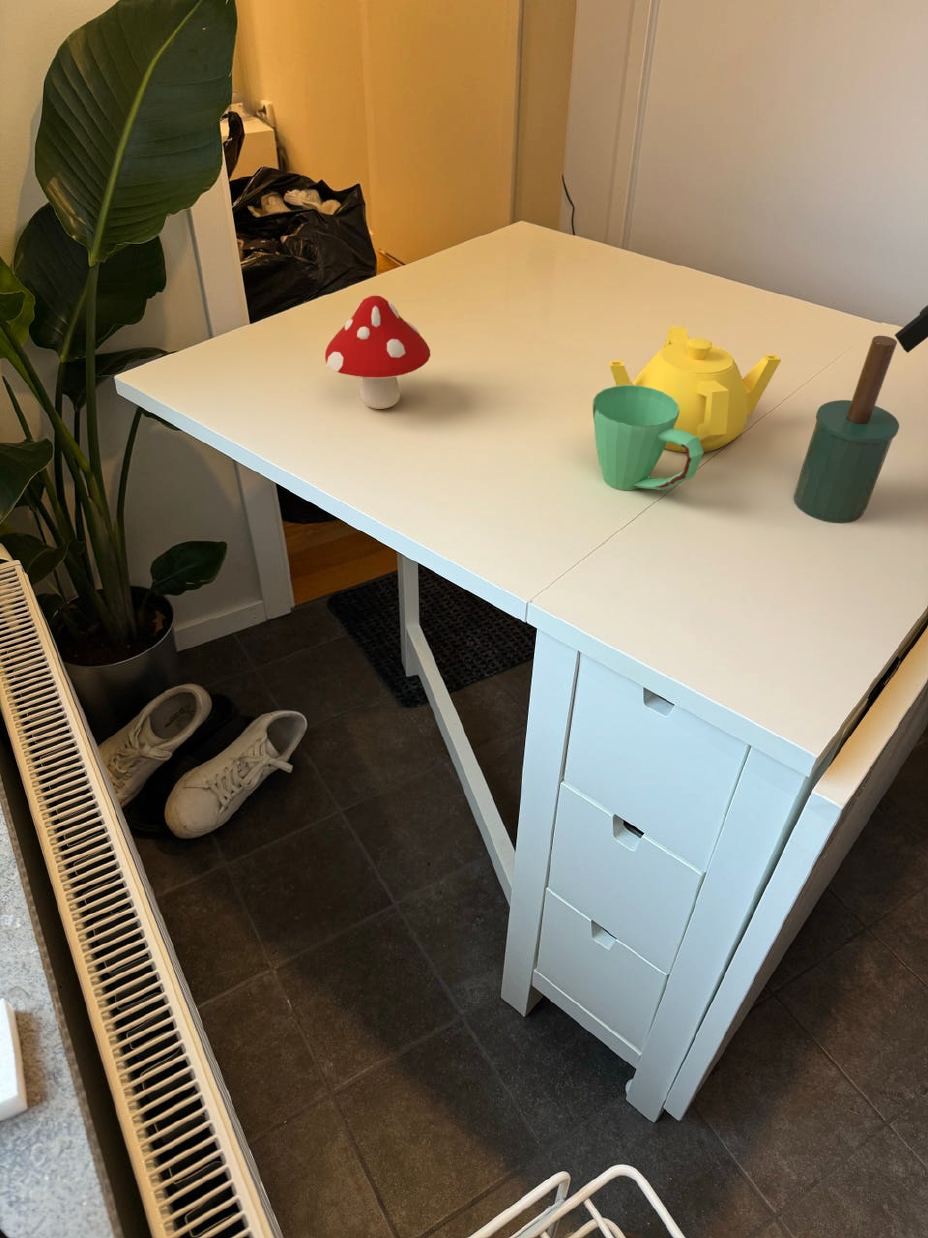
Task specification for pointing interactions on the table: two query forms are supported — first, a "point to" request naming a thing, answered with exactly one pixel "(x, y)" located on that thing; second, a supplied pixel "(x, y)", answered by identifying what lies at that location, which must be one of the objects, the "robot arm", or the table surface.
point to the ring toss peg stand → (864, 402)
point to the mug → (639, 437)
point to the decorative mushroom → (377, 351)
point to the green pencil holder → (838, 476)
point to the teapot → (702, 387)
